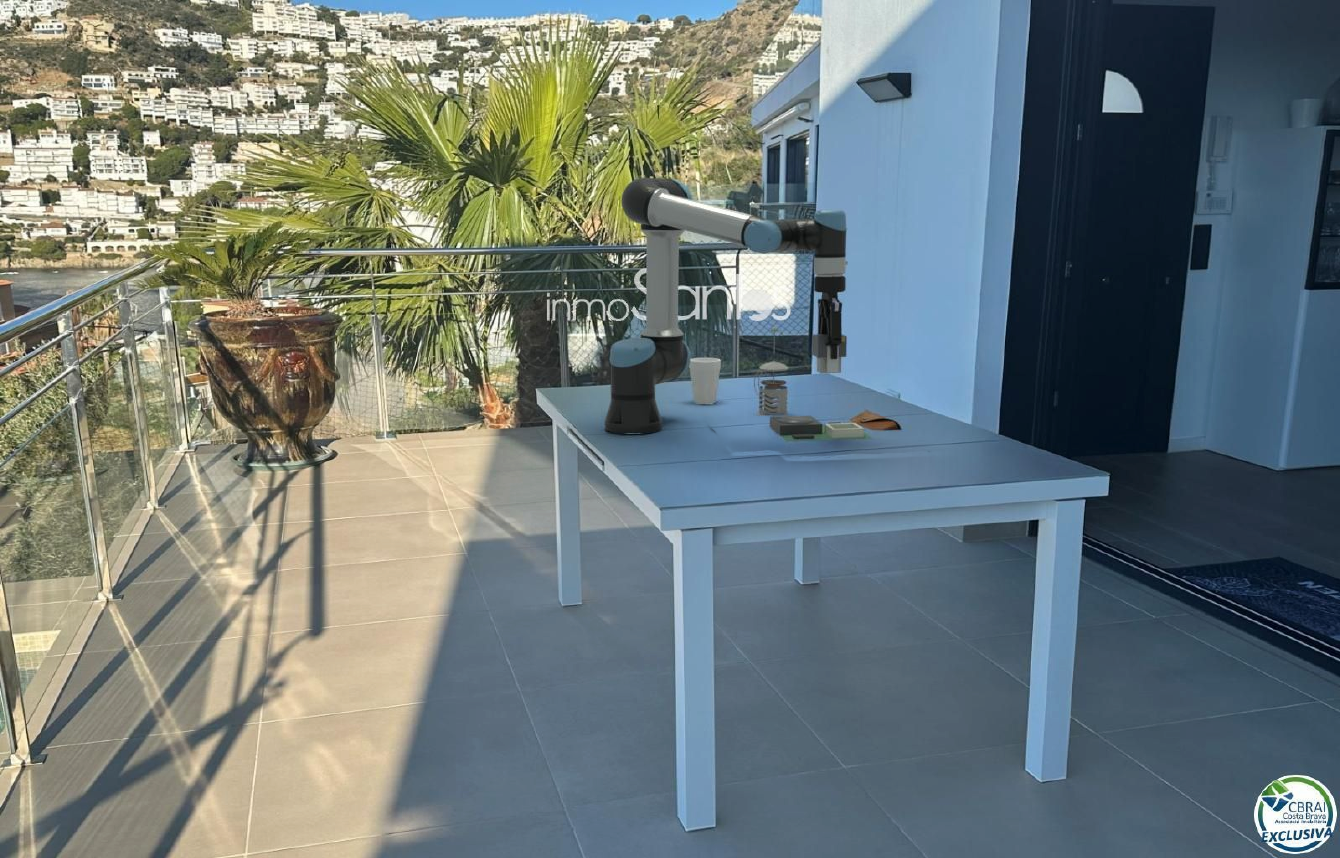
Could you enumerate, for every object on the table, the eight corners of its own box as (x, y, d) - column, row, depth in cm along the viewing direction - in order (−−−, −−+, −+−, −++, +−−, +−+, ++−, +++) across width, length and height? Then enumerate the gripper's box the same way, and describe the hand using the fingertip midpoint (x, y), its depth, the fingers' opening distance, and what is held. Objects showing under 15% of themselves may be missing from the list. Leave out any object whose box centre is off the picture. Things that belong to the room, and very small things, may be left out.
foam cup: (726, 401, 310) (726, 359, 307) (710, 406, 302) (710, 363, 299) (699, 399, 315) (699, 356, 312) (683, 403, 307) (683, 360, 304)
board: (786, 446, 251) (786, 434, 251) (769, 430, 269) (769, 420, 268) (873, 442, 254) (873, 431, 254) (850, 428, 272) (851, 417, 271)
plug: (818, 374, 249) (818, 337, 248) (811, 370, 255) (812, 334, 254) (846, 373, 250) (846, 336, 248) (839, 369, 256) (839, 333, 254)
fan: (779, 435, 258) (779, 424, 257) (769, 426, 269) (769, 416, 268) (822, 433, 259) (822, 423, 259) (810, 424, 270) (810, 414, 270)
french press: (773, 421, 282) (775, 329, 276) (743, 414, 290) (744, 326, 285) (797, 416, 288) (799, 327, 283) (767, 410, 296) (768, 323, 291)
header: (832, 438, 254) (832, 429, 254) (824, 432, 261) (824, 423, 261) (863, 437, 255) (863, 428, 255) (854, 431, 262) (855, 422, 262)
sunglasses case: (839, 422, 278) (851, 401, 278) (858, 434, 281) (870, 412, 281) (872, 436, 262) (885, 413, 261) (893, 448, 264) (905, 425, 264)
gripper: (856, 276, 239) (854, 375, 244) (834, 273, 258) (833, 364, 262) (824, 277, 238) (823, 376, 243) (805, 273, 257) (805, 365, 262)
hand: (829, 370), depth 253 cm, fingers closed on plug, 6 cm apart
